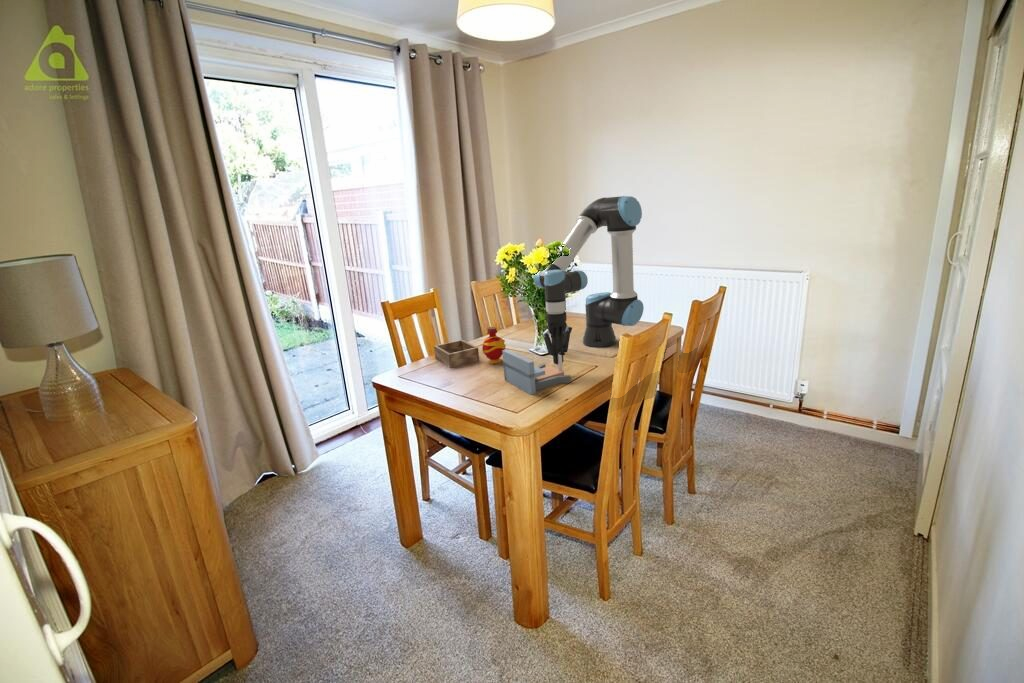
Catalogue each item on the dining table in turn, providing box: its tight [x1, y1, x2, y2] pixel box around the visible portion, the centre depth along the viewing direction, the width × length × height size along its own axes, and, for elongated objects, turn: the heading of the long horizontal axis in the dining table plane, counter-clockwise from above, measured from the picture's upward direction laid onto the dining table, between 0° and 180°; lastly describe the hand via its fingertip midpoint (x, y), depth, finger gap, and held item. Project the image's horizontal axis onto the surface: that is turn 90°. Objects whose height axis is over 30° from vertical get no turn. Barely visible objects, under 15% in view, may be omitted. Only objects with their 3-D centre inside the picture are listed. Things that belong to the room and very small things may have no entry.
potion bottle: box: [482, 326, 507, 364], centre depth 205 cm, size 10×10×15 cm
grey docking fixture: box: [502, 348, 572, 396], centre depth 179 cm, size 18×19×12 cm
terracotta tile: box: [535, 365, 565, 382], centre depth 182 cm, size 12×9×3 cm
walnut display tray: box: [433, 339, 480, 369], centre depth 212 cm, size 14×17×6 cm
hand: (558, 370), depth 185 cm, fingers closed
